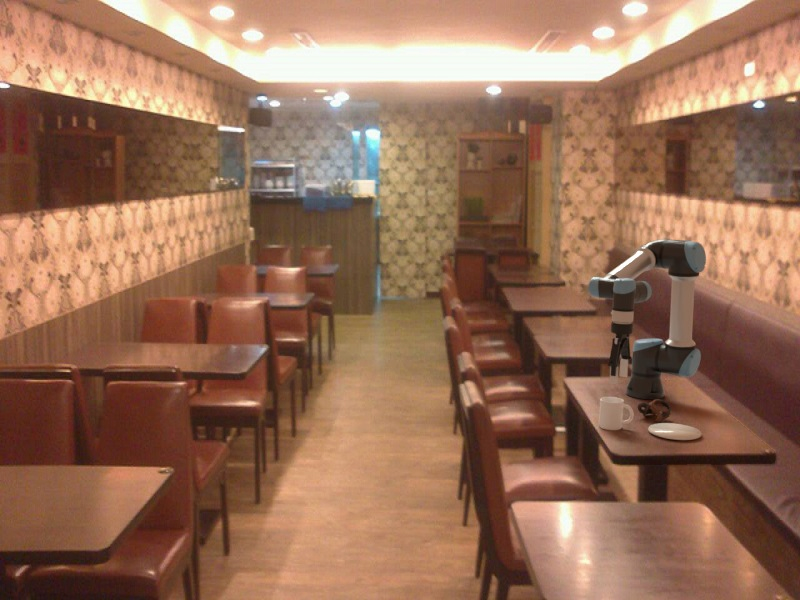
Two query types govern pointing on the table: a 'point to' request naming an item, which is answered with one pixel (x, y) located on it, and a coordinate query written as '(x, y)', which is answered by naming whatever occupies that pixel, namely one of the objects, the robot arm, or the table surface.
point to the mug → (613, 413)
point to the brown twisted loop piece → (655, 409)
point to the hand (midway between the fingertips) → (618, 380)
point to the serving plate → (674, 431)
